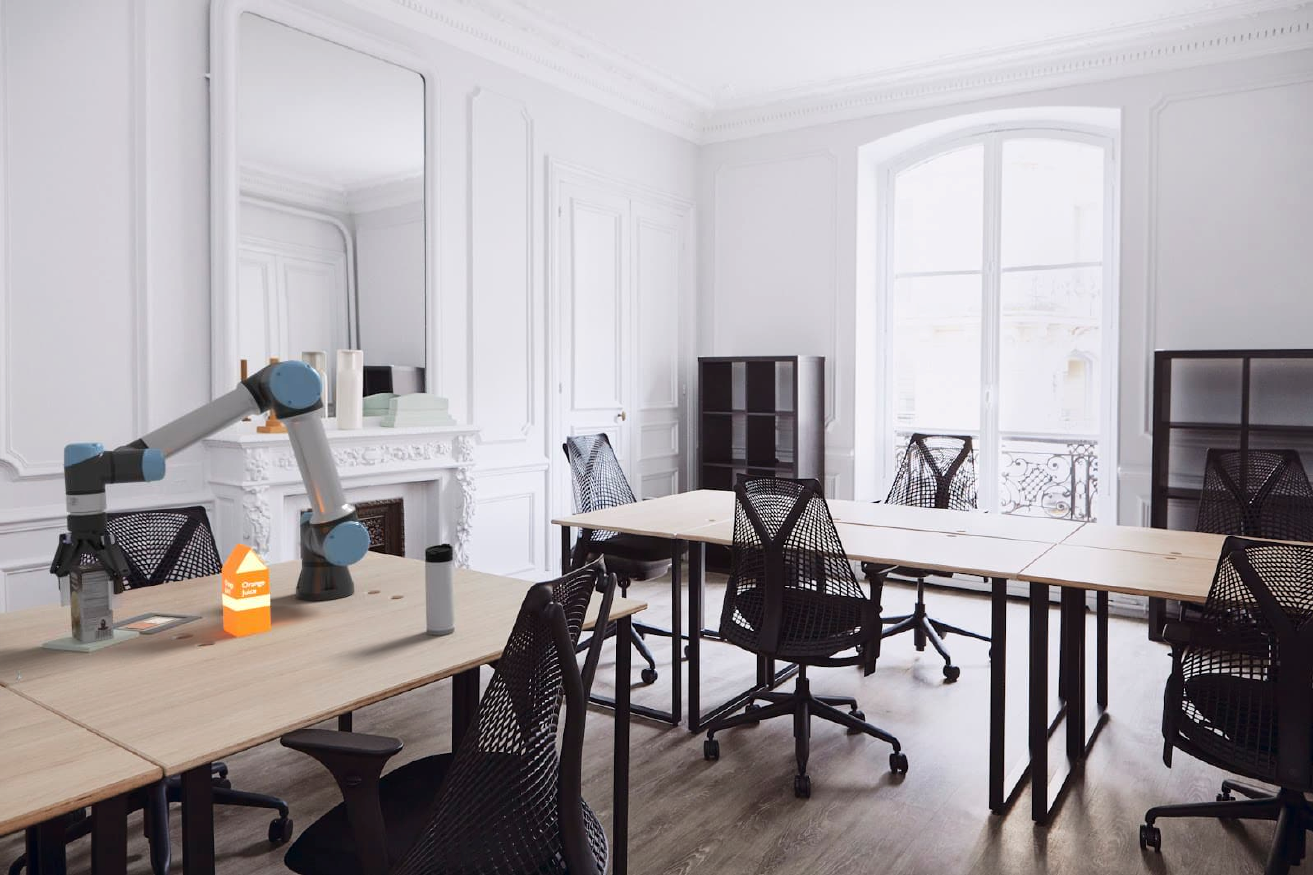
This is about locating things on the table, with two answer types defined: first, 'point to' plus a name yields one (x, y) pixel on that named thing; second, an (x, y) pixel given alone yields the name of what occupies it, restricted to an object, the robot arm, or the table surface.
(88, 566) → the coffee box
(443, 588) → the travel mug
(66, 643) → the pad
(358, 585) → the table surface
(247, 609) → the orange juice
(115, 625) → the tile
